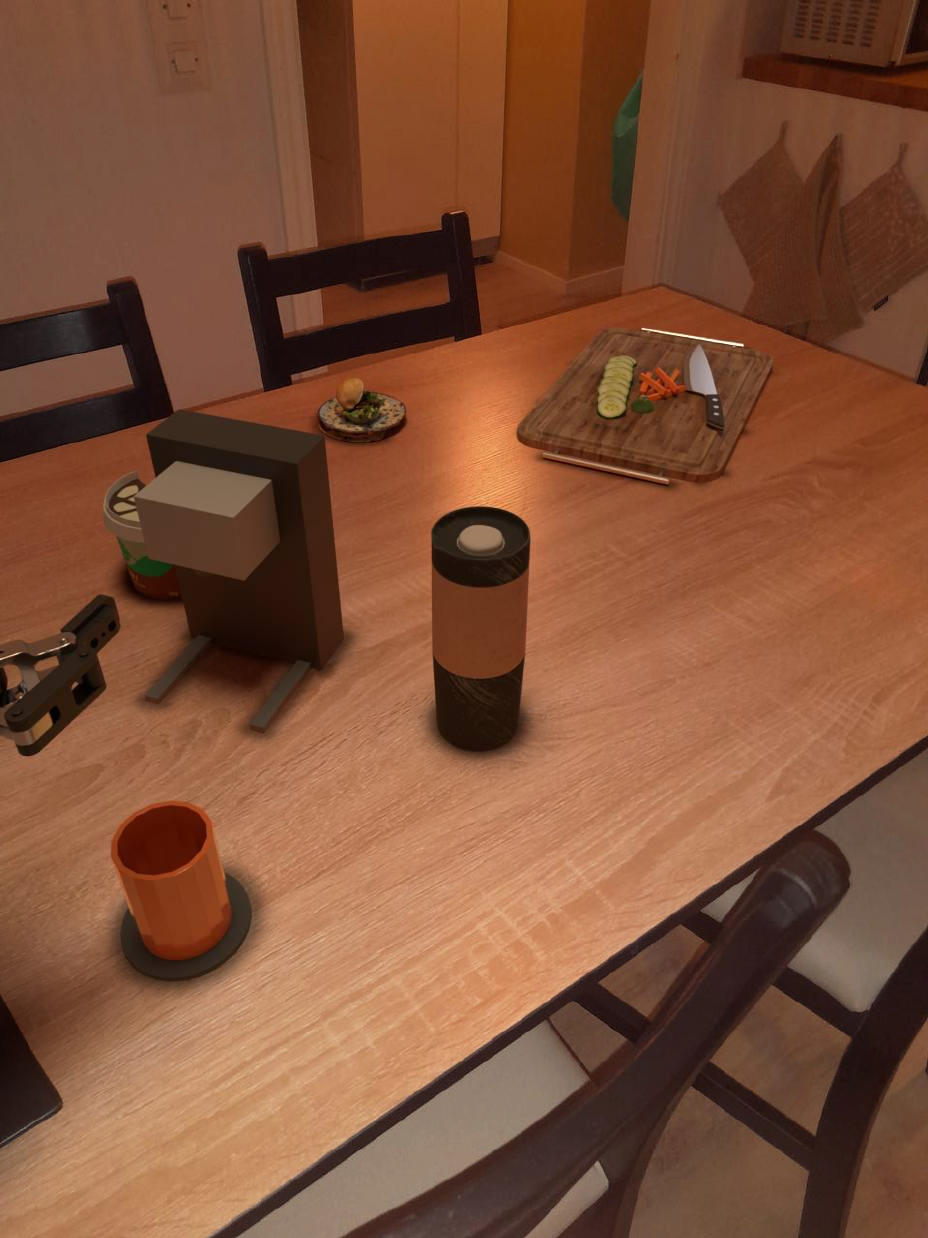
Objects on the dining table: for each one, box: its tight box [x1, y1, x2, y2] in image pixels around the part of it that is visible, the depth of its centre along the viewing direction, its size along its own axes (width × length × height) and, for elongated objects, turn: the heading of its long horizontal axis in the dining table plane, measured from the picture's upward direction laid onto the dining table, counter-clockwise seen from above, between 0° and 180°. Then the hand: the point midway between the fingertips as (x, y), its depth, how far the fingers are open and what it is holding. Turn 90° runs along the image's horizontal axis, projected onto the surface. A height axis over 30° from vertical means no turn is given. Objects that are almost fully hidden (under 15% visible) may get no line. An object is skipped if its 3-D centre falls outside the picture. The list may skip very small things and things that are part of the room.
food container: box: [102, 469, 183, 601], centre depth 97 cm, size 12×6×10 cm, turn 42°
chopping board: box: [516, 326, 774, 486], centre depth 134 cm, size 45×27×3 cm, turn 156°
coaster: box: [119, 872, 252, 982], centre depth 69 cm, size 9×9×1 cm
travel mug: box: [430, 505, 532, 752], centre depth 79 cm, size 8×8×20 cm
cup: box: [110, 800, 232, 961], centre depth 66 cm, size 6×6×9 cm
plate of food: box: [316, 371, 407, 443], centre depth 127 cm, size 12×12×8 cm
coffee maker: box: [134, 408, 345, 734], centre depth 83 cm, size 14×14×22 cm
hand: (50, 591), depth 56 cm, fingers open, 8 cm apart
